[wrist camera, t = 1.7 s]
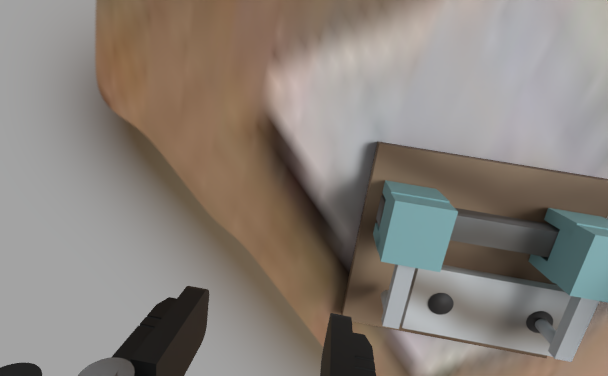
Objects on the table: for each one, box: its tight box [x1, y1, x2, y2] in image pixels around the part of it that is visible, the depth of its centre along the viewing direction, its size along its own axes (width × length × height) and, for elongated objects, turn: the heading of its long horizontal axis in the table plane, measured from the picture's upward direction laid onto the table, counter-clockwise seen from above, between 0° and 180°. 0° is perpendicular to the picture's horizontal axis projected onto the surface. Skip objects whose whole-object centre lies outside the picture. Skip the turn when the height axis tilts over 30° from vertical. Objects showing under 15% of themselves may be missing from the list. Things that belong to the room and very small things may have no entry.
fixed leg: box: [528, 208, 608, 362], centre depth 25 cm, size 10×4×5 cm, turn 171°
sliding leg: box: [373, 180, 458, 329], centre depth 25 cm, size 10×4×5 cm, turn 171°
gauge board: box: [341, 142, 608, 358], centre depth 27 cm, size 16×18×3 cm
